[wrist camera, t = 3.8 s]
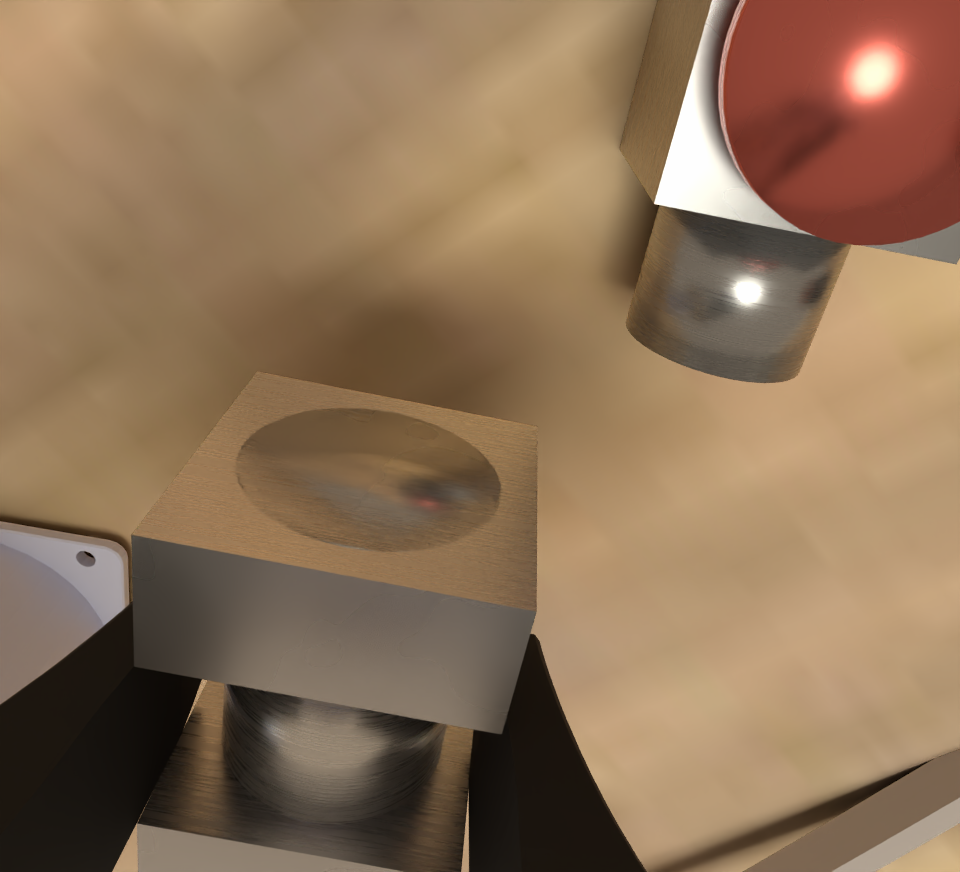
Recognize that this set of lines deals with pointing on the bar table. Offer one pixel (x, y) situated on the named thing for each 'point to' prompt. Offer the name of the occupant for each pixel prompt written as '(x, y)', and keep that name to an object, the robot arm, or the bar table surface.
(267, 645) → the coupling
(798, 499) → the bar table surface
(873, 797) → the caliper
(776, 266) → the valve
